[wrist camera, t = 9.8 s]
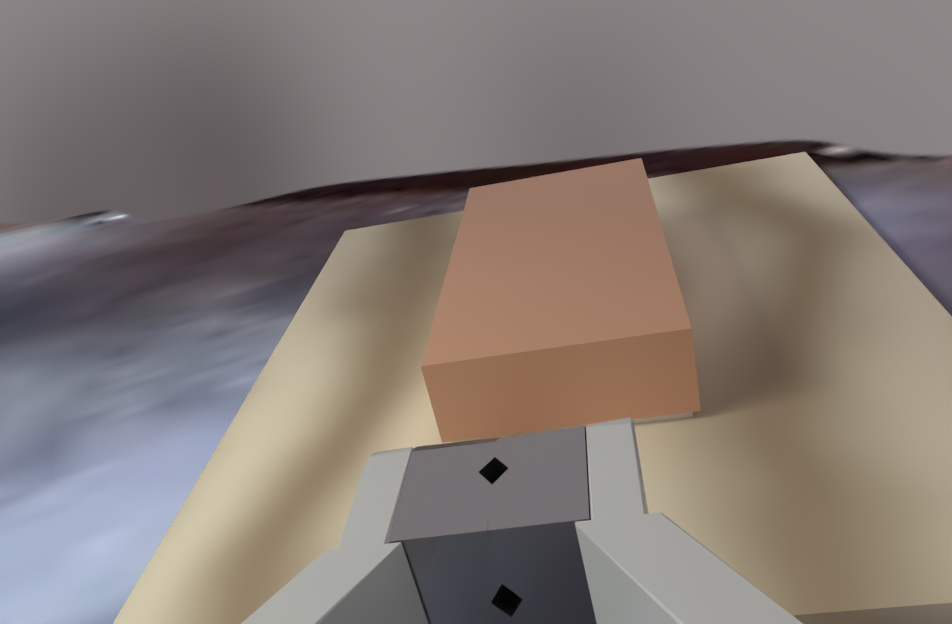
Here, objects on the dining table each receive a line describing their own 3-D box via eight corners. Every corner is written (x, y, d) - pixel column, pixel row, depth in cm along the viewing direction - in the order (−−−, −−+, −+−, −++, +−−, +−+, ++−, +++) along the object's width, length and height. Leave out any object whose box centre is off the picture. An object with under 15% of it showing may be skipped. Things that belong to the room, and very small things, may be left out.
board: (95, 690, 19) (84, 672, 19) (348, 241, 42) (344, 230, 42) (1183, 607, 15) (1189, 583, 15) (805, 164, 38) (805, 151, 38)
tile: (420, 366, 22) (469, 188, 34) (444, 451, 23) (483, 250, 36) (691, 328, 21) (641, 158, 33) (701, 420, 22) (649, 223, 34)
